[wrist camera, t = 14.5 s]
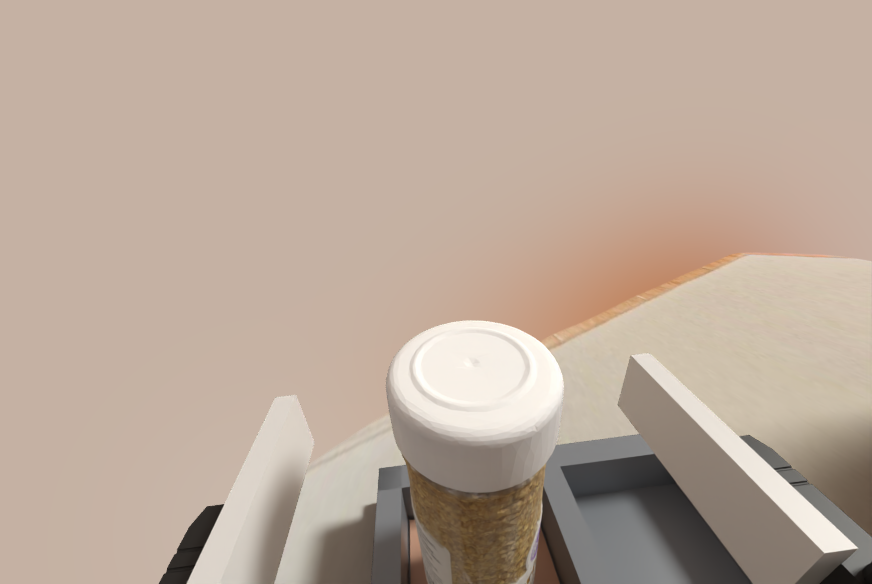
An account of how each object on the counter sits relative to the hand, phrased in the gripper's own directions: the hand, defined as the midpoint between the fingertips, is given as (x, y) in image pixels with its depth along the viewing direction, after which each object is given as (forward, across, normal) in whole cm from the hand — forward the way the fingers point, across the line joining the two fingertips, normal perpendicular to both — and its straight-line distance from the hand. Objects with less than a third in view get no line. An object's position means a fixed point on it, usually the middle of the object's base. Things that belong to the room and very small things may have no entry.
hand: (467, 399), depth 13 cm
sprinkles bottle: (-3, 0, -9) cm, 10 cm away
